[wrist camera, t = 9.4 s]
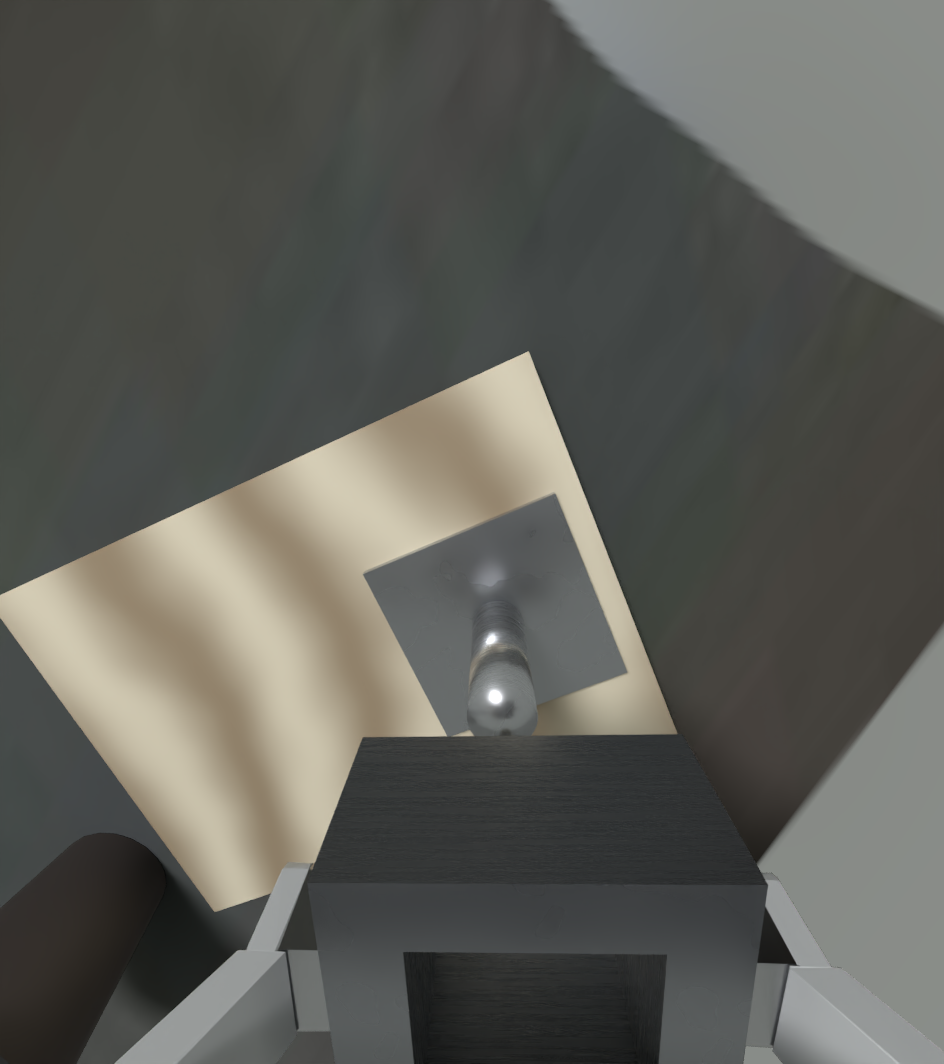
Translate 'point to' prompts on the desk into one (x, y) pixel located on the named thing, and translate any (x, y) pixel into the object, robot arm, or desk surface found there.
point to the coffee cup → (72, 945)
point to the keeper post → (498, 620)
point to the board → (302, 627)
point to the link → (535, 905)
